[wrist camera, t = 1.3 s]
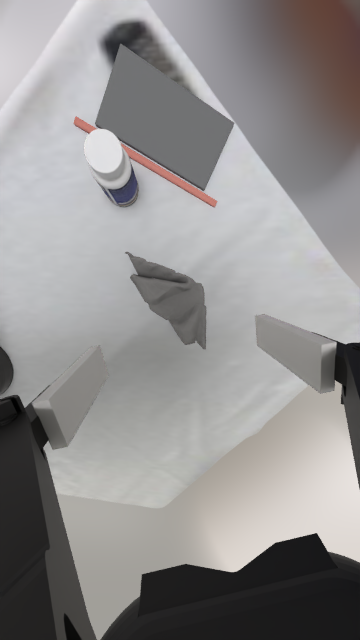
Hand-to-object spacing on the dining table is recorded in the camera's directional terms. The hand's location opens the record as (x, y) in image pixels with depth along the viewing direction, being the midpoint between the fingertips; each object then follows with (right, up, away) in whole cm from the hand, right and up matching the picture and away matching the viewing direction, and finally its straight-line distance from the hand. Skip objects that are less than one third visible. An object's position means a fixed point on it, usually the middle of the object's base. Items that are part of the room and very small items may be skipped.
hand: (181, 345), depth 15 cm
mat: (-2, +35, +15) cm, 38 cm away
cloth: (-1, +6, +23) cm, 24 cm away
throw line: (-5, +29, +16) cm, 33 cm away
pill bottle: (-10, +25, +17) cm, 32 cm away
